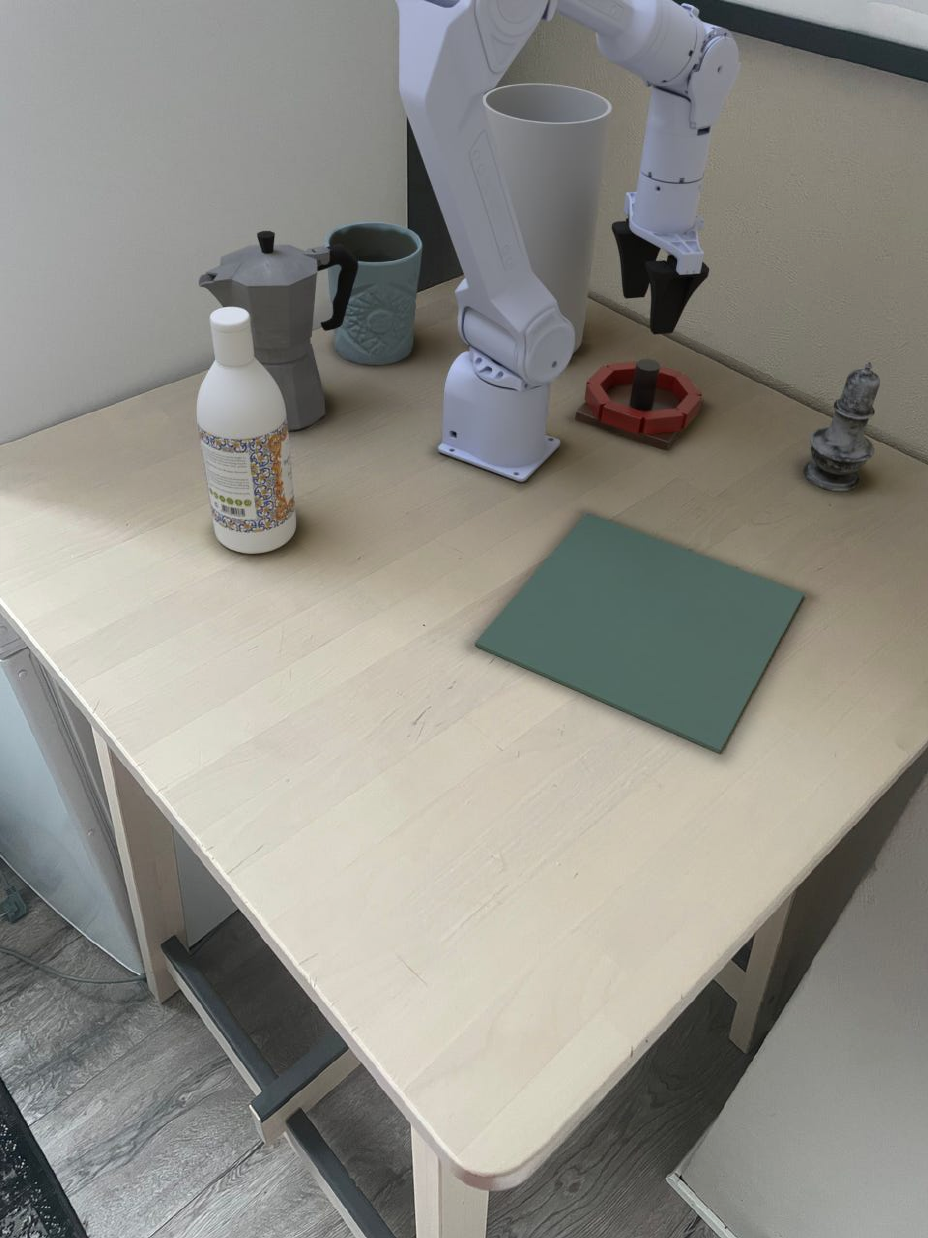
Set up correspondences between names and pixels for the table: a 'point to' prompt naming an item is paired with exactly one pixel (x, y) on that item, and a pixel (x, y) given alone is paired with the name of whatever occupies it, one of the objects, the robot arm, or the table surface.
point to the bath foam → (244, 442)
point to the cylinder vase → (554, 181)
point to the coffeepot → (284, 312)
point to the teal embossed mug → (377, 291)
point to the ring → (634, 418)
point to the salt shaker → (845, 435)
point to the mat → (646, 628)
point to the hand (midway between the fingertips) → (647, 313)
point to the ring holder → (638, 403)
